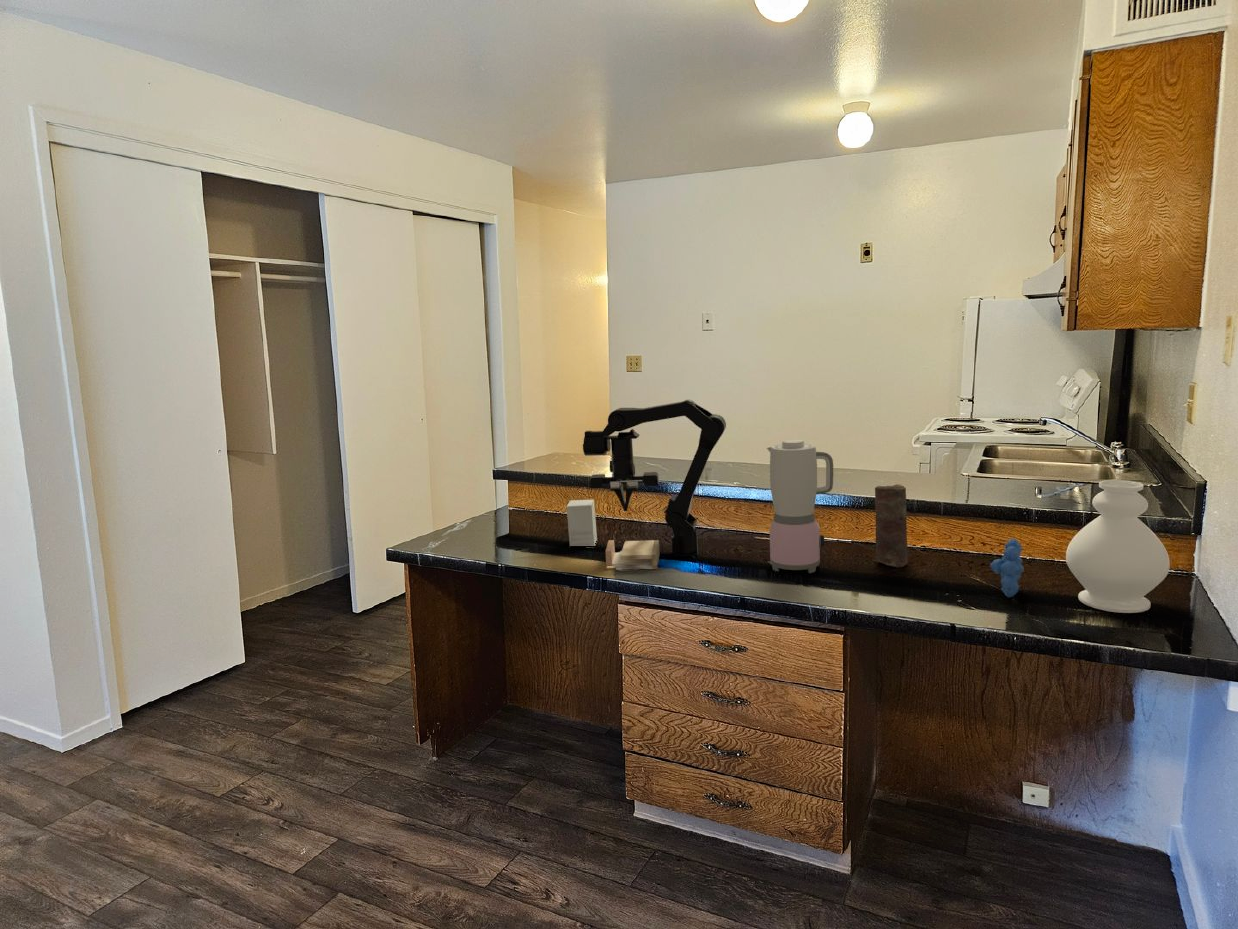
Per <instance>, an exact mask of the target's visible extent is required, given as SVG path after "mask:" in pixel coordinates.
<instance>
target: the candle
mask: <svg viewBox="0 0 1238 929" xmlns="http://www.w3.org/2000/svg"><path fill="white" fill-rule="evenodd" d="M874 496H875V497H874V507H875V509H874V510H875V511H874V512H875V514H874V515H875V559H876V561H878V563H881V564H884V565H886V566H890V567H894V568H899V567H900V568H903V567H905V566H906V565H908V535H907V534H908V532H907V529H908V528H907V527H908V525H907V523H908V522H907V488H906V487H905V485H902V484H898V483H897V484H896V483H895V484H893V485H877V486H875V487H874Z"/></svg>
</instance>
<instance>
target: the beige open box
mask: <svg viewBox="0 0 1238 929" xmlns="http://www.w3.org/2000/svg"><path fill="white" fill-rule="evenodd" d="M619 552H621V555H620V557H621V559H652V564H632V565H615V568H621V569H657V570H658V566H659V558H660V541H659V539H655V540H625V541H624V543H623V547H622V549H621V550H620V551H619ZM657 565H658V566H657Z"/></svg>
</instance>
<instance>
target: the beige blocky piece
mask: <svg viewBox="0 0 1238 929" xmlns="http://www.w3.org/2000/svg"><path fill="white" fill-rule="evenodd" d="M615 548H616V547H615V540H614V539H612V540H610V539H609V540H608V541H607V545H606V548H605V562H606V566H615V565H632V564H652V559H621V557H620V555H621V552H620V551H618V552H616V549H615Z"/></svg>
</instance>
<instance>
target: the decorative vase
mask: <svg viewBox="0 0 1238 929" xmlns="http://www.w3.org/2000/svg"><path fill="white" fill-rule="evenodd" d="M1098 487H1099V488H1100V489H1102V491H1101V492H1098V493H1097V494H1096V495H1095V496H1093V498H1092V501H1091V502H1092V507H1093V508H1094V509H1095V510H1096V511H1097V512H1098V513H1099V514H1100V515H1099V516H1097V517H1096V518H1094V519H1093V520H1091V521H1090V522H1088V523H1087V524H1086V525H1085V526H1083V527H1082V528H1081V529H1080V530H1079V531H1078V532H1077V533H1076V534H1075V535H1074V536H1073V537H1072V539H1071V540H1070V541H1069V543H1068V546H1067V549H1066V554H1065V561H1066V565H1067V566H1068V568H1069V570H1070V572H1071V573H1072V574H1073V576H1074V577H1075V579H1077V581H1078V582H1079V583H1080V584H1081V585H1082V586H1083V588H1084V590H1082V591H1080V592H1079V593H1078V596H1077V597H1078V600H1079V601H1080V603H1083V604H1084V605H1085V606H1088V607H1091V608H1094V609H1096V610H1102V611H1106V612H1113V613H1122V614H1132V613H1133V614H1134V613H1136V614H1137V613H1143V612H1145V611H1148V610H1149V609H1150V608H1151V601H1150V600H1149V599H1148V598H1146V597H1144V596H1146V595H1147V594H1148V593H1150V592H1152V591H1153V590H1154V589H1155V588H1156V587H1158V585H1159V584H1161V583H1162V582H1163V581H1164V580H1165V579H1166V577H1167V576H1168V574H1169V572H1170V565H1171V563H1170V562H1171V561H1170V556H1169V554H1168V551H1167V549H1166V547H1165V545H1164V544H1163V542H1162V541H1161V540H1160V538H1159V537H1158V535H1157V534H1155V533H1154V531H1152V529H1151V528H1149V527H1148V526H1147V525H1146V524H1145V523H1144V522H1143V521H1142V520H1141V519H1140V518H1138V517H1139V516H1140V515H1141V516H1142V514H1143V513H1145V512H1147V510H1148V509H1149V502H1148V501H1147V499H1146V498H1145V497H1144V496H1143V495H1142V494H1141V493H1140V491H1142V490H1144V483H1141V482H1138V481H1132V480H1125V479H1124V480H1122V479H1106V480H1101V481H1099V483H1098Z"/></svg>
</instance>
